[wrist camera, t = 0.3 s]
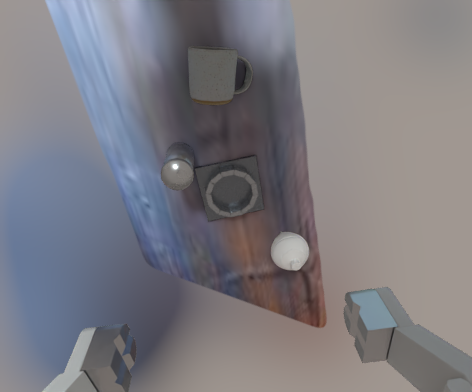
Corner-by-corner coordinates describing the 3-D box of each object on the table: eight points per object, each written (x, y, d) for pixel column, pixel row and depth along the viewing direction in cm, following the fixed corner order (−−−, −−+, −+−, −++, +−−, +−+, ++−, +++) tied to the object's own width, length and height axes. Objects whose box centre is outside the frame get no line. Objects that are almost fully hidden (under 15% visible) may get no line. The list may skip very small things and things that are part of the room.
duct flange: (194, 167, 59) (194, 172, 56) (255, 155, 59) (257, 159, 56) (208, 219, 64) (208, 226, 62) (263, 207, 64) (266, 213, 62)
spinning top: (268, 215, 65) (281, 249, 55) (301, 218, 67) (321, 251, 56) (260, 244, 69) (272, 281, 58) (293, 247, 70) (310, 283, 59)
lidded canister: (162, 145, 56) (156, 164, 47) (190, 139, 56) (189, 157, 47) (170, 170, 58) (165, 193, 49) (197, 165, 58) (197, 187, 50)
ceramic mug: (189, 98, 53) (189, 106, 46) (187, 45, 49) (187, 46, 42) (249, 98, 54) (258, 106, 47) (252, 47, 50) (261, 48, 44)
